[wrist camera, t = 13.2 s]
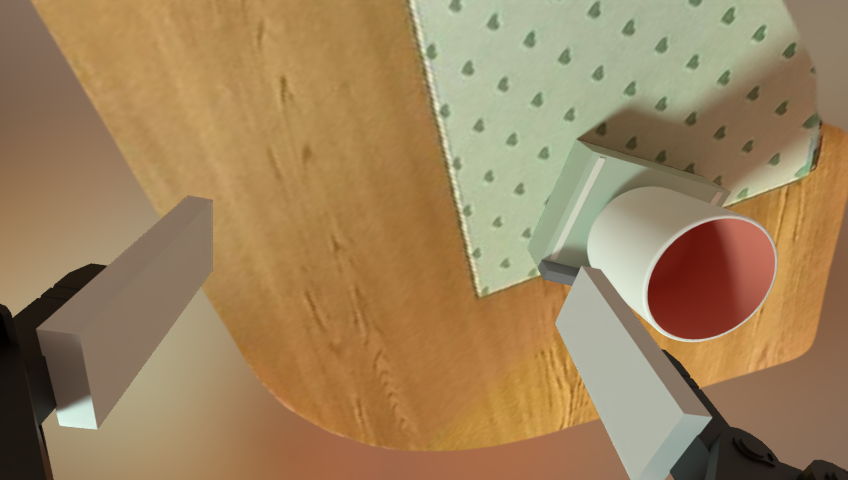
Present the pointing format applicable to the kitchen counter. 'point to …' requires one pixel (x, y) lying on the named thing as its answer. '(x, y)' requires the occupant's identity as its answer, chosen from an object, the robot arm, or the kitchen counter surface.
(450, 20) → the kitchen counter surface
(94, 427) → the robot arm
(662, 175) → the dock
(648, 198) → the cup
